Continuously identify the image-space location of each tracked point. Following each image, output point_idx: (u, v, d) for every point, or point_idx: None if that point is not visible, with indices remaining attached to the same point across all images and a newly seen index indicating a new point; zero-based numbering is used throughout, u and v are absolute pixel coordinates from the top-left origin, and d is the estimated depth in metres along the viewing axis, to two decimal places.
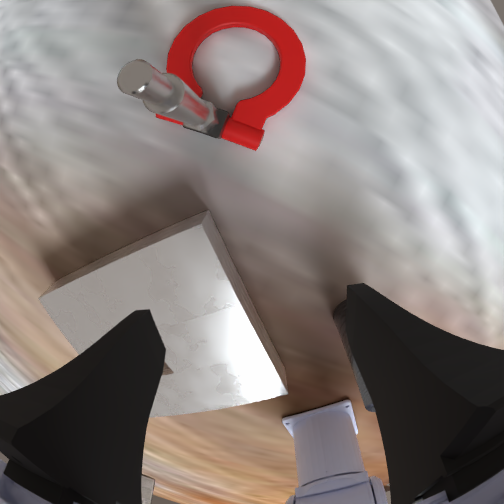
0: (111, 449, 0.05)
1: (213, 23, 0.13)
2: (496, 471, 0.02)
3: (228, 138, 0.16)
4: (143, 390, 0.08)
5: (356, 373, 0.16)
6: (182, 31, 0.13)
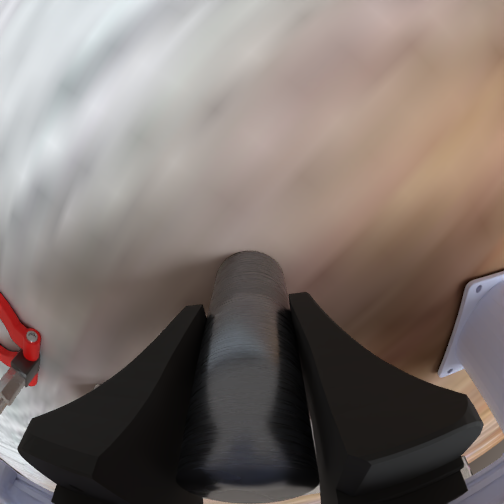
0: None
1: None
2: None
3: (34, 358, 0.14)
4: None
5: None
6: None
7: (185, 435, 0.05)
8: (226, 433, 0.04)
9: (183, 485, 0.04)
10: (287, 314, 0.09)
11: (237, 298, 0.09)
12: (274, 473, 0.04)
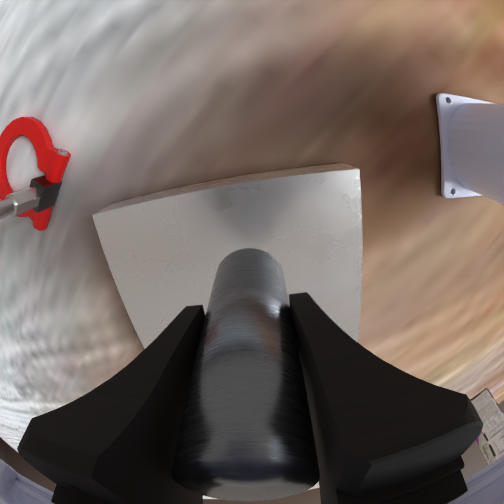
0: None
1: (0, 181, 0.16)
2: None
3: (56, 178, 0.16)
4: None
5: None
6: None
7: (182, 427, 0.05)
8: (226, 424, 0.04)
9: (178, 479, 0.04)
10: (287, 310, 0.09)
11: (237, 292, 0.09)
12: (274, 467, 0.04)
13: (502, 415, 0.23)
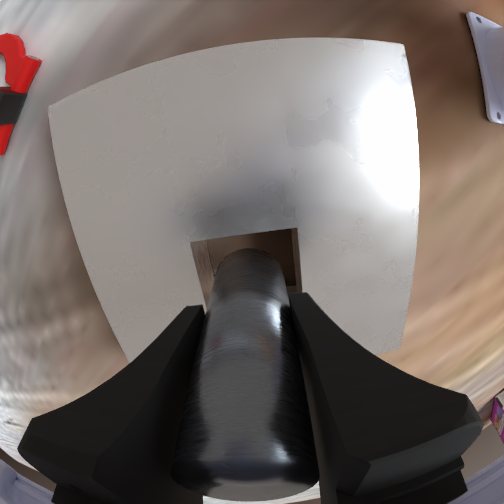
0: None
1: None
2: None
3: (21, 86, 0.10)
4: None
5: None
6: None
7: (182, 426, 0.05)
8: (226, 423, 0.04)
9: (178, 479, 0.04)
10: (287, 310, 0.09)
11: (237, 291, 0.09)
12: (274, 466, 0.04)
13: None
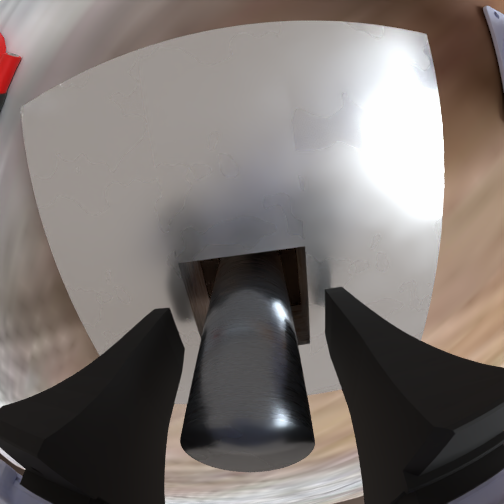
0: (136, 454, 0.05)
1: None
2: (465, 490, 0.02)
3: None
4: (165, 391, 0.08)
5: None
6: None
7: (191, 396, 0.06)
8: (231, 390, 0.05)
9: (186, 447, 0.05)
10: (285, 296, 0.10)
11: (239, 278, 0.10)
12: (273, 429, 0.05)
13: None
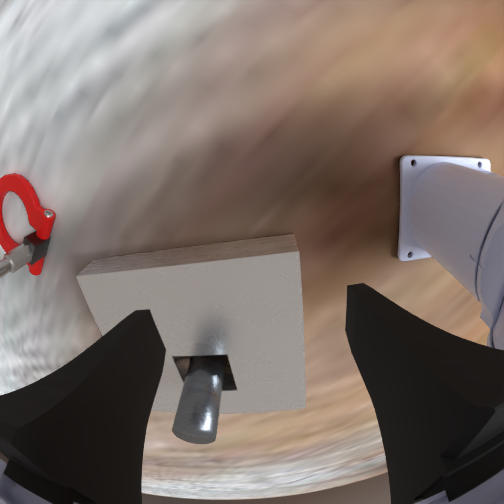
0: (111, 449, 0.05)
1: None
2: (495, 471, 0.02)
3: (45, 235, 0.19)
4: (143, 390, 0.08)
5: None
6: None
7: (176, 415, 0.16)
8: (187, 415, 0.16)
9: (174, 432, 0.16)
10: (219, 373, 0.20)
11: (198, 366, 0.20)
12: (199, 428, 0.15)
13: None
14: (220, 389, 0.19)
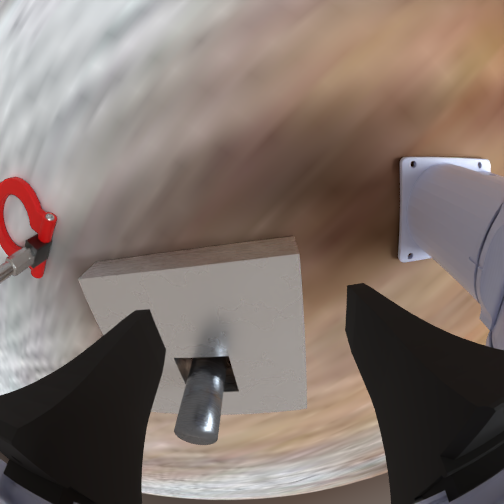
0: (111, 449, 0.05)
1: None
2: (495, 471, 0.02)
3: (47, 238, 0.19)
4: (143, 390, 0.08)
5: None
6: (3, 249, 0.20)
7: (178, 416, 0.17)
8: (189, 416, 0.16)
9: (176, 433, 0.16)
10: (220, 375, 0.20)
11: (200, 367, 0.20)
12: (201, 429, 0.15)
13: None
14: (222, 390, 0.19)
